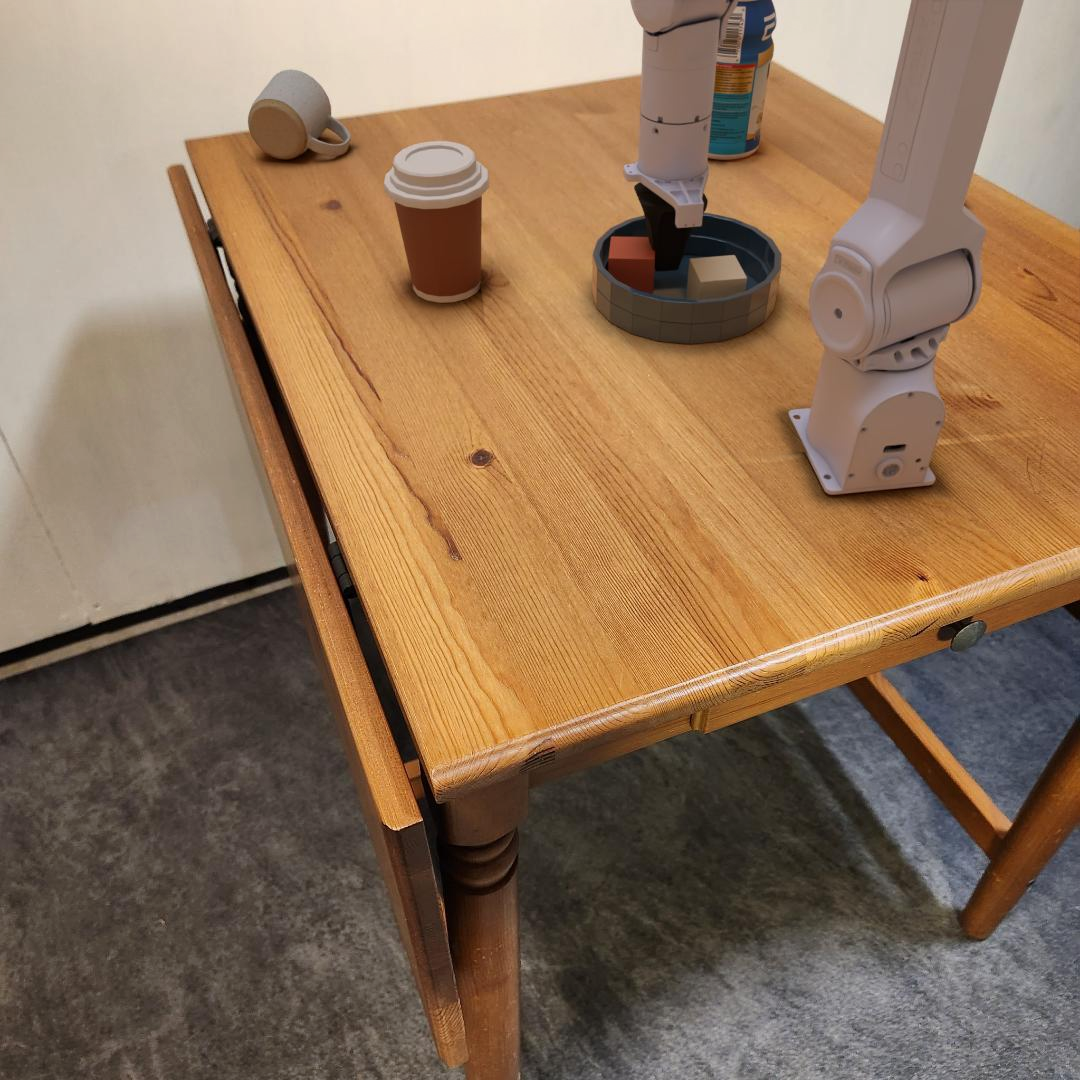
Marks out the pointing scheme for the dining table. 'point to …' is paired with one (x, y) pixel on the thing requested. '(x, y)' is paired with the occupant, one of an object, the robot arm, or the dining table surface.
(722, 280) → the cream block
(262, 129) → the ceramic mug
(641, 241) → the terracotta block
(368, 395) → the dining table surface
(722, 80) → the beverage bottle
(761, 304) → the bowl
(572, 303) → the dining table surface
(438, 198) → the coffee cup
